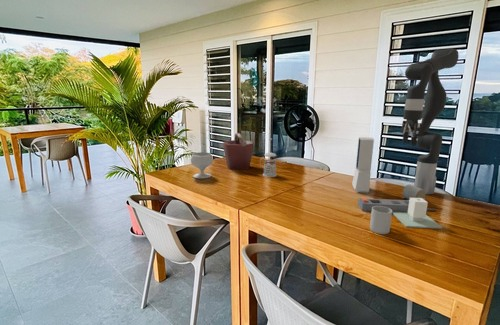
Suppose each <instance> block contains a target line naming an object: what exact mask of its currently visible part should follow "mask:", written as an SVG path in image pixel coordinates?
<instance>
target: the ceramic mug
mask: <svg viewBox="0 0 500 325" xmlns="http://www.w3.org/2000/svg"><path fill="white" fill-rule="evenodd" d="M402 189H403V190H402V192H401V194H402V198H403V199H404V200H409V199H410V198H422V199H424V200H425V199H426V194H425V191H424V190H422V189H420V188H417V187H415V186H414V184H413V185H412V184H407V185H405V186H404V188H402Z"/></svg>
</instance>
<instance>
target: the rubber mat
mask: <svg viewBox="0 0 500 325" xmlns="http://www.w3.org/2000/svg"><path fill="white" fill-rule="evenodd" d="M392 216H394V217H395V218H397V220H398V221H399V222H401V224H402V225H403V226H404V227H405V228H416V229H417V228H420V229H443V227H442V226H441V225H440V224H439V223H437V222H436V221H435V220H434V219H433V218H431V217H430V216H428V215H427V214H426V217H425V218H423V221H412V220H411V219H410V218H409V214H408V213H404V212H392Z"/></svg>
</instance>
